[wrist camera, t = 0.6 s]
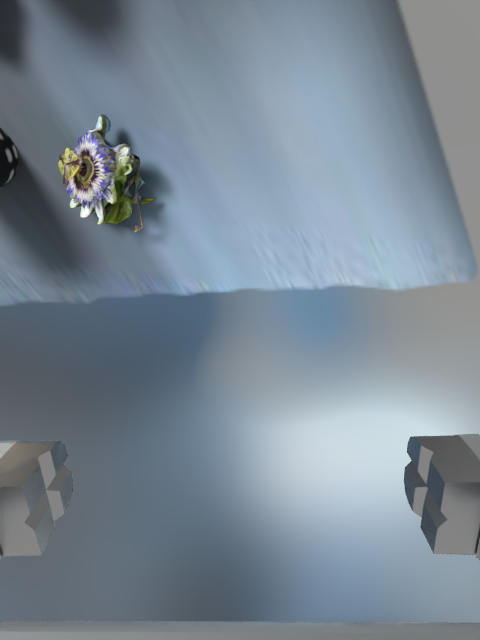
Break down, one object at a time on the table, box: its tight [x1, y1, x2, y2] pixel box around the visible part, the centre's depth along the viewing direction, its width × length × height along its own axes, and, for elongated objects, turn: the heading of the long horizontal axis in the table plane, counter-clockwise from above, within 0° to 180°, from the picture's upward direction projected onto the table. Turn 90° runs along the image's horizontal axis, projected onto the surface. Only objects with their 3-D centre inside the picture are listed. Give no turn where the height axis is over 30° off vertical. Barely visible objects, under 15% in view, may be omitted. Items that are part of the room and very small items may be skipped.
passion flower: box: [59, 115, 155, 232], centre depth 49 cm, size 11×11×12 cm
